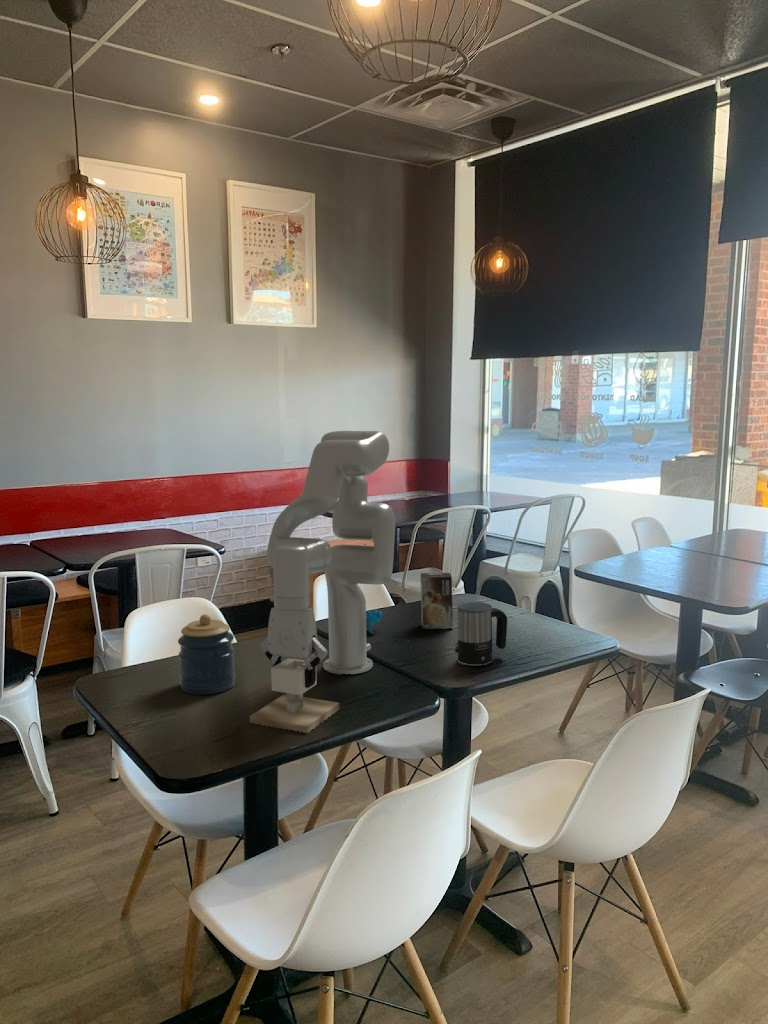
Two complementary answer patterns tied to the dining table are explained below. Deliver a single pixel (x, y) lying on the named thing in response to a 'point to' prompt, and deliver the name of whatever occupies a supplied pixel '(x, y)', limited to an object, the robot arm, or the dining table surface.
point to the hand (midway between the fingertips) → (294, 682)
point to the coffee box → (436, 600)
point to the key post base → (295, 713)
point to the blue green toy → (372, 618)
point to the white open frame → (289, 677)
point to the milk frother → (479, 632)
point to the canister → (206, 657)
